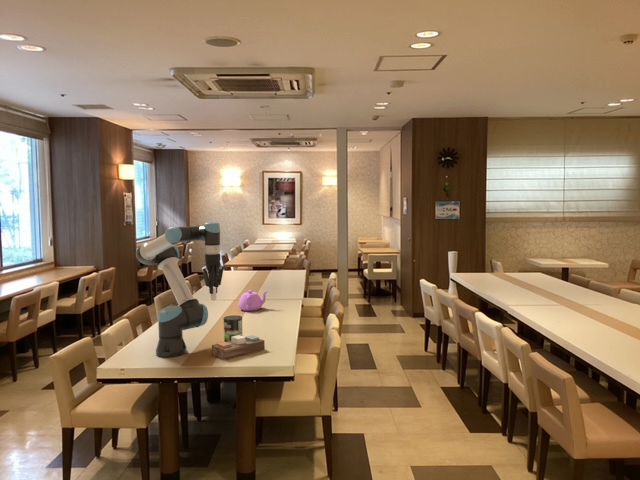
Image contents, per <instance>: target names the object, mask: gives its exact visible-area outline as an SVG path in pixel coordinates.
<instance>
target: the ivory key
mask: <svg viewBox="0 0 640 480" xmlns="http://www.w3.org/2000/svg"><path fill="white" fill-rule="evenodd" d="M245 337H246V336H244V335H243V336H240V335H237V336H232V337H231V343H234V344H237V345H239V344H244V343H245Z"/></svg>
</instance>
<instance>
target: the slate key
mask: <svg viewBox="0 0 640 480" xmlns="http://www.w3.org/2000/svg"><path fill="white" fill-rule="evenodd" d="M244 337H245V340H248V341H251V342H253V341H257V340H259V339H260V337H259V336H256V335H253V334H252V335H247V336H244Z"/></svg>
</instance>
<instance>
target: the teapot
mask: <svg viewBox="0 0 640 480" xmlns="http://www.w3.org/2000/svg"><path fill="white" fill-rule="evenodd" d="M268 291H269V290H265V291H263V293H262V298H261V296H260V295H259V294H258V293H257V292H255V291H253V290H252V289H249V290H247V292H244V293H242V295H241V296H240V298H239V300H238V304H237V305H238V308H239V309H240V310H241V311H244V312H246V311H249V312H252V311H253V312H254V311H258V310H261V308H262V307H263V305H264V304H265V303H266V300H267V299H266V297H267V296H266V294H267V293H268Z"/></svg>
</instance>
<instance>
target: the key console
mask: <svg viewBox="0 0 640 480" xmlns="http://www.w3.org/2000/svg"><path fill="white" fill-rule="evenodd" d="M227 343H230V344H231V347H228V348H224V349H223V348H220V347H218V346H217V343H215V344H211V355H212V356H214V357H215V358H216V357H217V358H218V359H220V360H224V361H226V360H232V359H235V358H238V357H243V356H246V355H250V354H254V353H257V352H262V351H265V347H266V346H265V340H264V339H261V338H259V340H257V341H253V342H251V341H248V340H245V343H244V344H239V345H237V344H234V343H231V341H228V342H227Z"/></svg>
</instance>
